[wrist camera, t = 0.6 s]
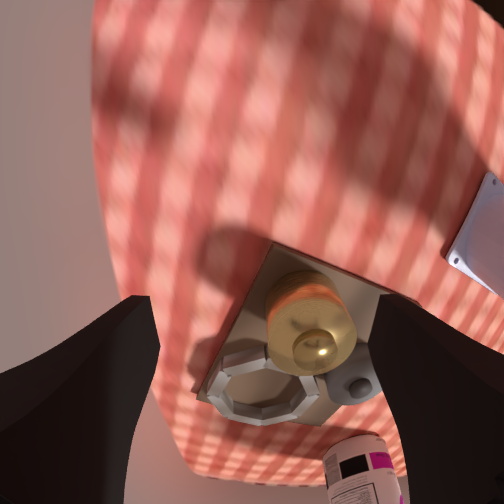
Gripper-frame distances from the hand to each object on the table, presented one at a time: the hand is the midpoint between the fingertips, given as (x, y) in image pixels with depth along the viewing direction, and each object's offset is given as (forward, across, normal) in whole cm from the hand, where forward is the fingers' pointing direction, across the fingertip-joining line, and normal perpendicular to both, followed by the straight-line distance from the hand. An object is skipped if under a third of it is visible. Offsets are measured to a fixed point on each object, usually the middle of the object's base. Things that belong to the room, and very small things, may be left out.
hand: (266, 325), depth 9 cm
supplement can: (+10, -12, +29) cm, 33 cm away
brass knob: (+9, -3, +5) cm, 11 cm away
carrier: (+10, -4, +11) cm, 15 cm away
